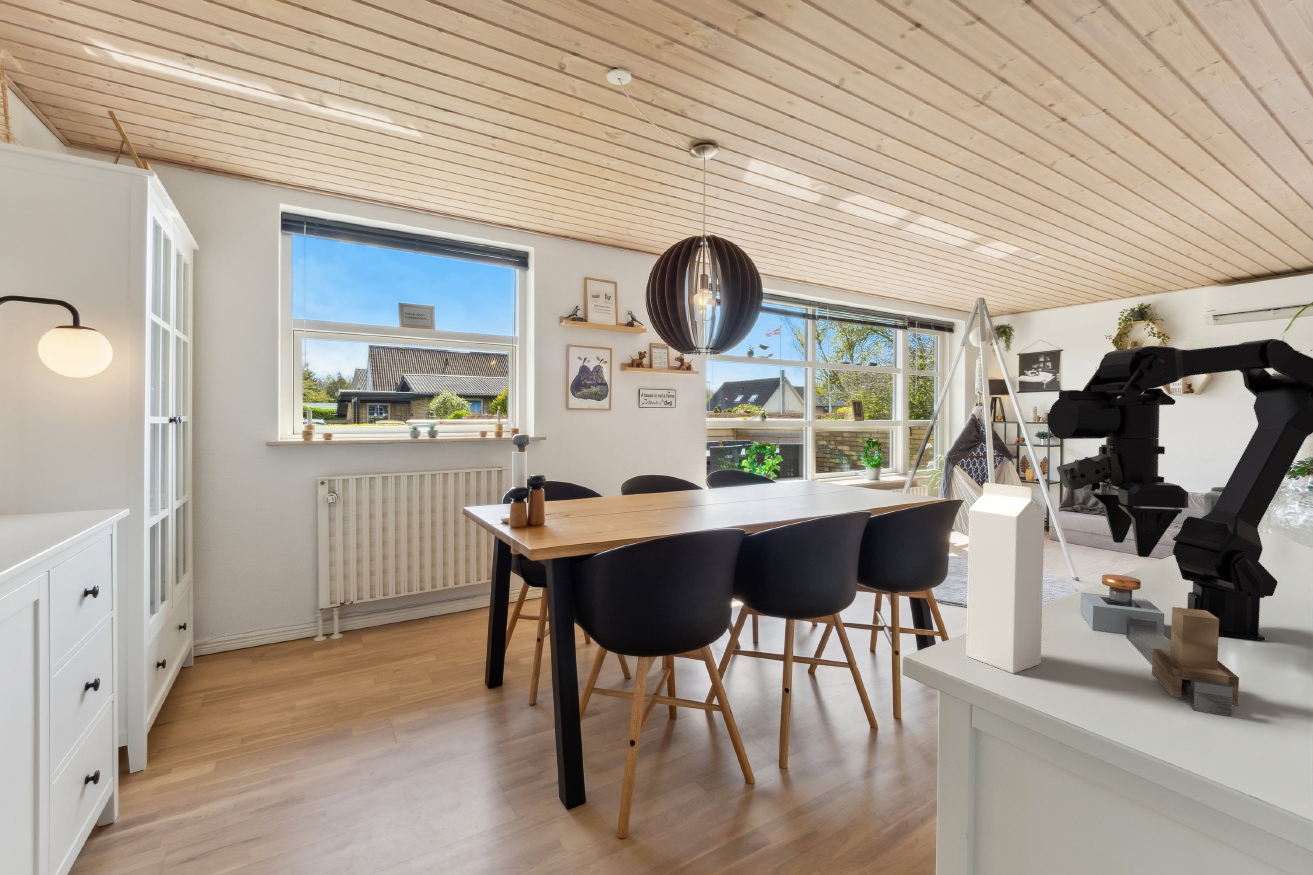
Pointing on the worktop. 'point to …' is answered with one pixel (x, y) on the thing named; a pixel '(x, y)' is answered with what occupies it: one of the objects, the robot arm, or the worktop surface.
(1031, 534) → the milk
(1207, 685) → the rail
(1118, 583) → the button
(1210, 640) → the carriage
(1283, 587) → the worktop surface
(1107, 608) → the box
